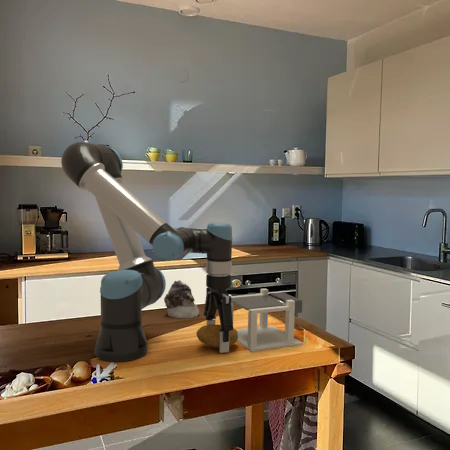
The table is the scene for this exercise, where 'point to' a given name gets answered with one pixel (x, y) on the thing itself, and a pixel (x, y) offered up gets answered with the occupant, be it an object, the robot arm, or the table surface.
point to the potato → (214, 335)
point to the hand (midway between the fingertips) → (217, 346)
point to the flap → (267, 301)
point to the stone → (180, 301)
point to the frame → (267, 327)
